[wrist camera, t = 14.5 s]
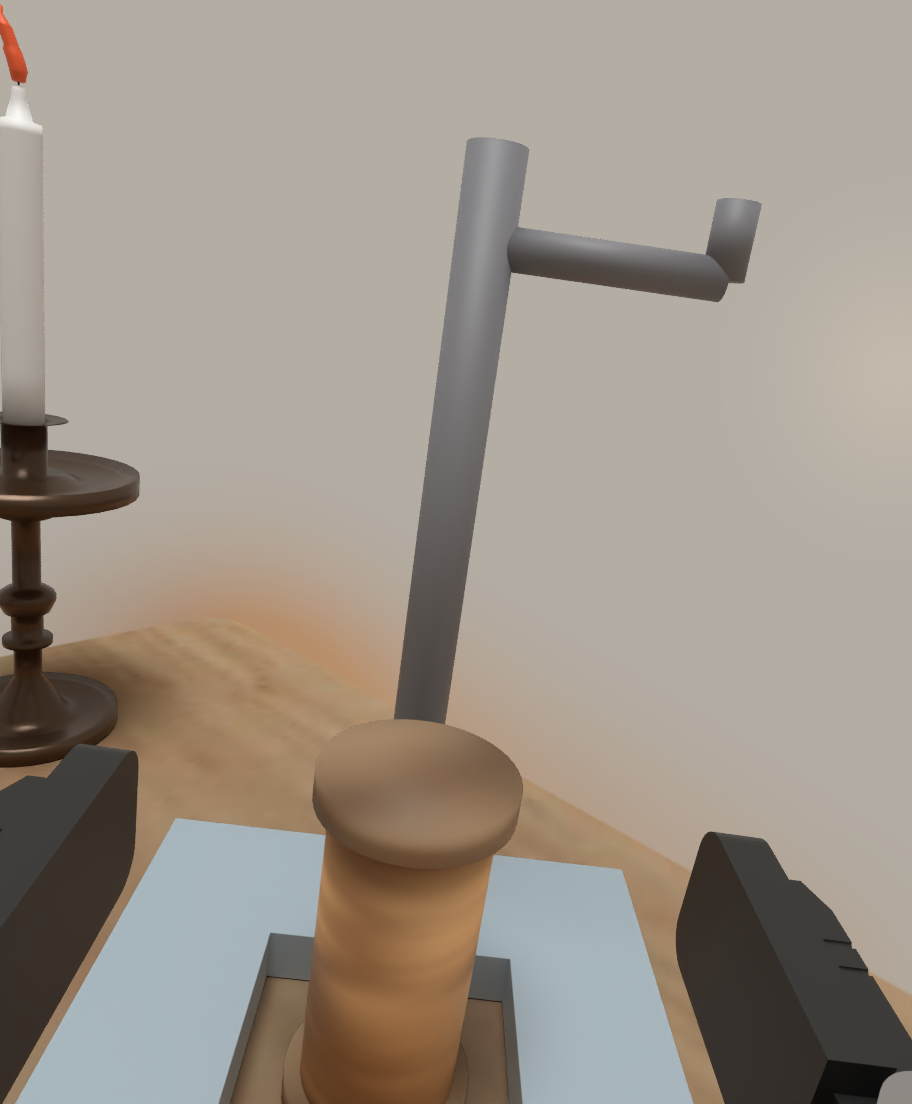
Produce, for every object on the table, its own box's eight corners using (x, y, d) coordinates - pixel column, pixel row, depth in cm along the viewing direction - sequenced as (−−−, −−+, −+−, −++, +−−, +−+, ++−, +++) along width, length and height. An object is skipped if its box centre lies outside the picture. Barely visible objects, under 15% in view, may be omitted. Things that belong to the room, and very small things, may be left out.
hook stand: (3, 1181, 22) (-36, -81, 14) (174, 856, 36) (206, 118, 27) (706, 1250, 23) (1068, 93, 15) (613, 906, 36) (773, 203, 28)
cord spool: (243, 1084, 26) (271, 758, 22) (375, 985, 30) (415, 702, 27) (371, 1230, 22) (427, 868, 19) (499, 1092, 27) (562, 781, 23)
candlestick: (-136, 770, 38) (-205, -76, 29) (-29, 672, 49) (-54, 25, 39) (99, 783, 40) (109, -17, 30) (154, 685, 50) (174, 66, 41)
